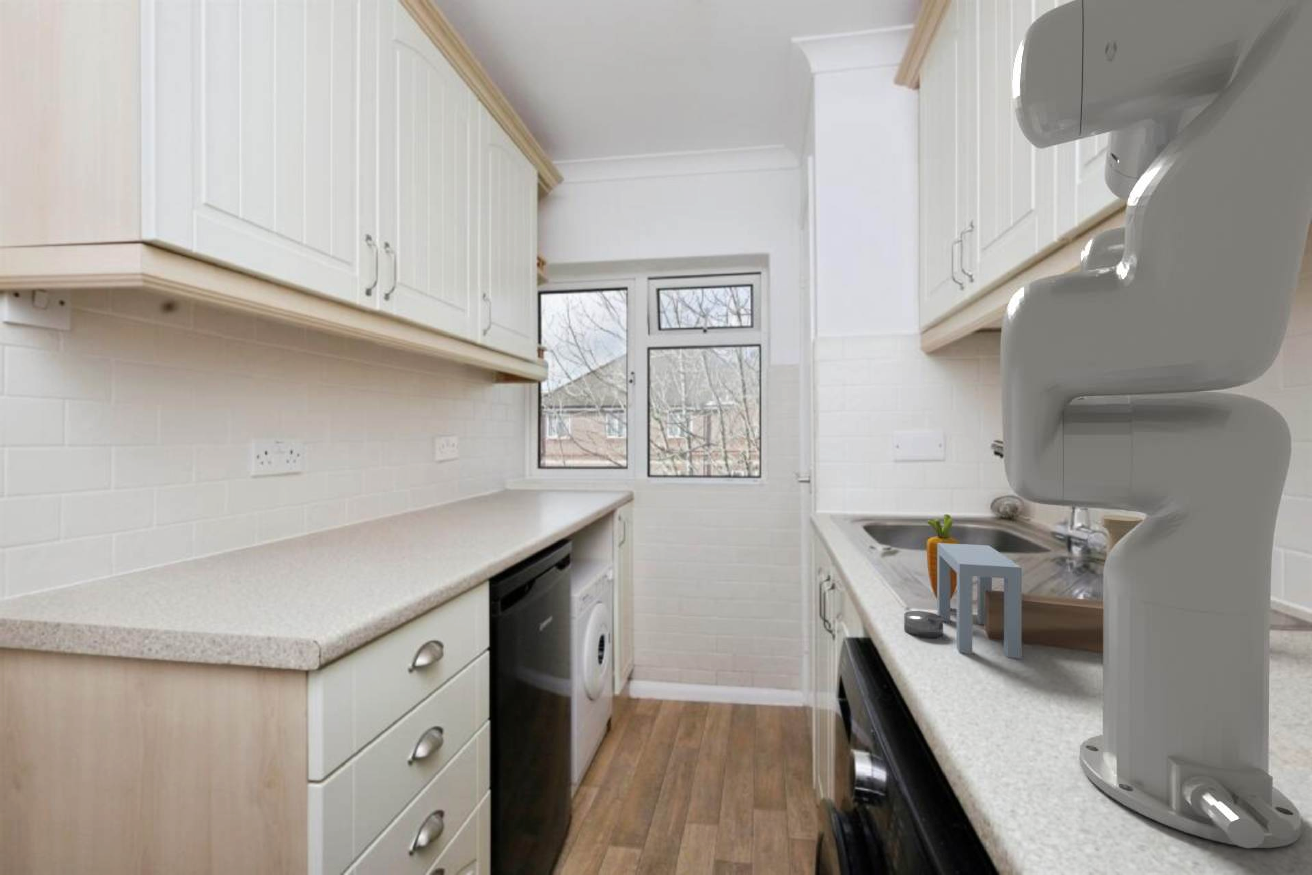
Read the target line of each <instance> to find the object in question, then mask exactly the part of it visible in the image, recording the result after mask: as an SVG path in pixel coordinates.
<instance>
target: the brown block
mask: <svg viewBox="0 0 1312 875" xmlns="http://www.w3.org/2000/svg"><path fill="white" fill-rule="evenodd" d="M984 631H985V634H986V637H987V638H988V640H992V641H993V640H994V641H1003V642H1004V590H1003V591H1002V590H985V625H984ZM1021 644H1026V645H1033V646H1042V647H1050V648H1055V649H1056V648H1057V649H1064V650H1073V651H1082V652H1087V653H1088V652H1089V653H1098V654H1103V600H1096V599H1088V598H1087V599H1085V598H1076V597H1075V598H1074V597H1065V596H1055V595H1046V594H1034V593H1033V594H1032V593H1024V592H1022V608H1021Z"/></svg>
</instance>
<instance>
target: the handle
mask: <svg viewBox="0 0 1312 875" xmlns="http://www.w3.org/2000/svg"><path fill="white" fill-rule="evenodd" d="M1143 520H1144V518H1142V517H1138V516H1130V515H1122V514H1121V515H1120V514H1119V515H1118V514H1109V515H1108V514H1106V515H1101V517H1100V525H1101V526H1102V527H1103V528H1104V529H1106V530H1107V551H1106V557H1107V556H1108V554H1109V552H1110V551H1111V549H1112V548H1113V547H1114V545H1115V544H1116V543H1117V542H1118V541H1119V540H1120V539H1121V538H1123V537H1124V536H1125V535H1126V534H1127V533H1128V532H1130V531H1131V530H1132V529H1133V528H1135V527H1136V526H1137V525H1138V524H1139V523H1140V522H1142V521H1143Z"/></svg>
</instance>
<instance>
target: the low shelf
mask: <svg viewBox="0 0 1312 875" xmlns="http://www.w3.org/2000/svg"><path fill="white" fill-rule="evenodd" d="M950 566H951V567H952V568H953V569H954V570H955V571H956V572H957V586H956V649H957V651H958V653H961V654H969V655H972V654H973V595H974V594H973V592H974V590H973V581H974V580H973V579H974V578H973V577H975V578H976V577H977V603H976V604H977V617H976V618H977V622H978V623H979V625H982V626H983V625H984V626H985V590H992V587H993V585H992V584H993V582H992V580H993V579H995V578H997V579H1003V591H1004V641H1003V653H1004V655H1005V656H1006V657H1007V658H1010V659H1011V658H1012V659H1020V660H1021V659H1022V643H1021V608H1022V593H1023V592H1022V587H1023V584H1022V578H1023V577H1022V576H1023V574H1022V573H1023V572H1022V571H1023V570H1022V566H1020V565H1019V564H1017V563H1015V562H1014V561H1013V560H1011V559H1010V558H1009V557H1007V556H1006V555H1003V553H1001V552H999V551H998V550H996V549H995V548H993V547H992V546H990V545H985V544H984V545H983V544H967V543H960V544H948V543H937V598H936V601H937V605H936V607H937V609H936V610H937V612H936V614H937V615H939V616H941V617H942V618H943V622H948V623H951V600H950ZM992 578H993V579H992Z"/></svg>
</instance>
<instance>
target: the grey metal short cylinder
mask: <svg viewBox="0 0 1312 875" xmlns="http://www.w3.org/2000/svg"><path fill="white" fill-rule="evenodd" d="M903 614H904V615H903V616H904V621H903V624H904V626H903V627H904V628H903V631H904V632H905V633H906V634H908V635H910V636H912V637H914V638H915V637H916V638H920V639H928V640H935V639H938V640H939V639H941V638H943V637H944V621H943V618H942V617H941V616H939V615H937V613H936V614H935V613H933V612H929V611H922V610H909V611H905V612H904V613H903Z"/></svg>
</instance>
